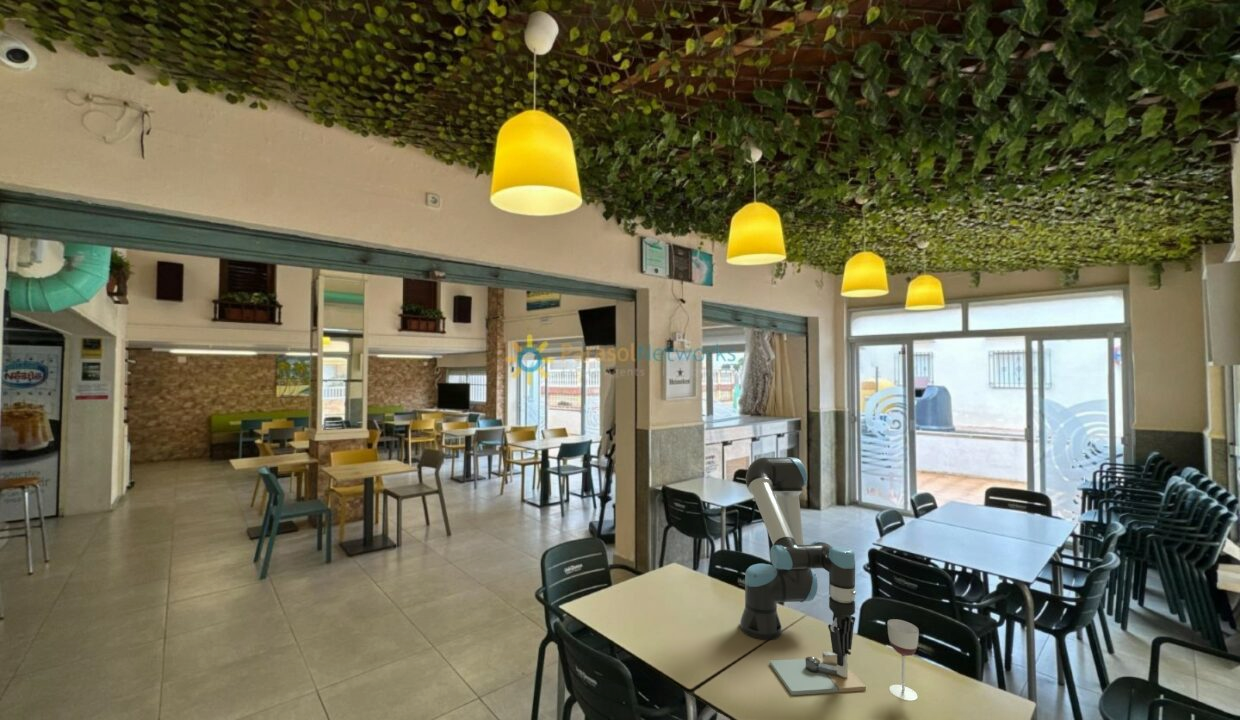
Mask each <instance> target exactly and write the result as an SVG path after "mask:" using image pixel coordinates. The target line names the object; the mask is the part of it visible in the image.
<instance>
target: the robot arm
mask: <svg viewBox="0 0 1240 720" xmlns="http://www.w3.org/2000/svg"><path fill="white" fill-rule="evenodd" d="M807 482H808V473H807V469H806V467H805V465H804V463H803V462H802V461H801V460H800V459H799V458H797V457H792V456H791V457H789V456H786V457H785V456H784V457H783V456H782V457H764V456H763V457H760V458H757V459H755V460H753V461H752V462H751V464H750V465H749V466H748V469H747V471H746V474H745V484H746V485H745V486H746V487H747V490H748V492H749V494H751V495H753V498H754V500H755V503H756V505H757V508H758V510H759V513H760V516H761V518H762V521H763V523H764V526H765V528H766V531H767V532H768V536H769V539H770V541H771V543H772V546H771V548H770V552H769V557H770V561H771V564H769V563H767V564H766V563H756V564H755V563H754V564H752V565H750V566H748V568H747V569H745V574H744V575H745V577H744V595H745V596H744V602H745V603H744V609H743V613H742V614H741V617H740V630H741V631H742V632H743V633H744V634H745V635H747V636H749V637H751V638H753V639H758V640H763V641H764V640H766V641H771V640H775V639H778V638H780V637H781V636H782V629H783V628H782V624H781V620H780V617H779V614H778V611H777V607H778V605H777V603H795V602H796V603H797V602H799V603H804V602H811V601H812V600H814V599H815V597H816V595H817V592H818V586H819V585H818V584H819V583H818V578H817V577H818V576H817V575H816V574H817V573H816V572H815V570H814V569H823V570H826V572H828V581H829V582H828V583H829V584H828V585H829V586H828V594H829V597H828V603H829V604H828V608H829V610H830V611H831V612H832V613H833V615H832V623H831V624H828V625H827V628H828V631H829V635H830V642H831V643H830V644H831V648H832V651H831V652H833V653H835V654H837V674H839V675H841V676H843V677H845V678H846V677H847V663H848V655H849V656H850V655H852V652H851V650H852V646H853V645H852V644H853V635H854V626H855V623H856V617H855V616H854V614H855V613H856V601H855V599H856V595H857V592H856V565H857V563H856V556H855V552H854V550H853V549H852V548H850V547H846V546H842V545H830V544H828V543H826V542H824V541H822V540H815V541H813V542H812V543H810V544H804V537H803V528H802V527H803V526H802V516H801V506H800V505H801V504H800V495H801V494H802V493H803V488H804V487H805V486H806V485H808V484H807Z"/></svg>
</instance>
